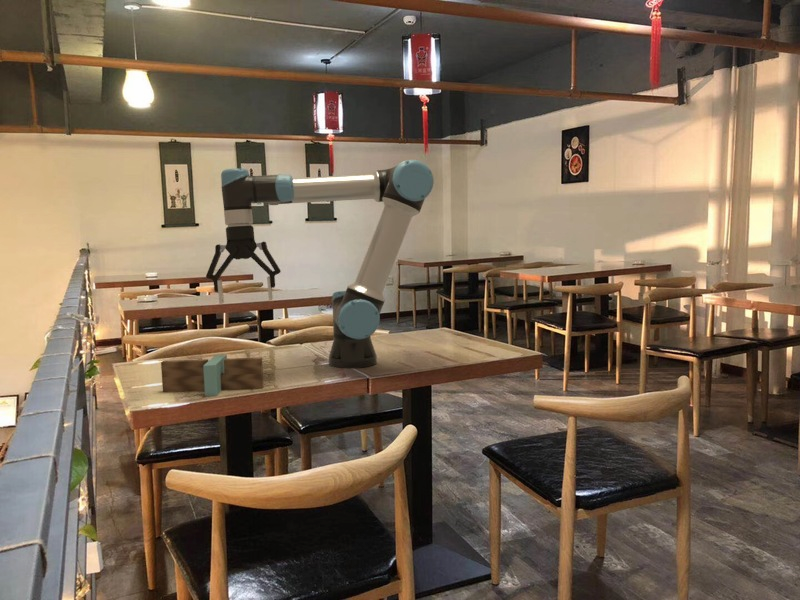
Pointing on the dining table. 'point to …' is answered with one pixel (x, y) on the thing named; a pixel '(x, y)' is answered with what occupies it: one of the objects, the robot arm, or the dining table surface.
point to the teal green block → (213, 375)
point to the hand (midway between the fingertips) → (246, 301)
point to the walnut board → (192, 374)
